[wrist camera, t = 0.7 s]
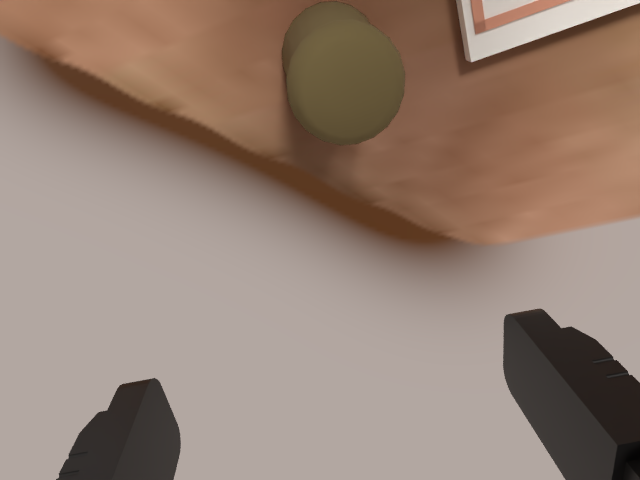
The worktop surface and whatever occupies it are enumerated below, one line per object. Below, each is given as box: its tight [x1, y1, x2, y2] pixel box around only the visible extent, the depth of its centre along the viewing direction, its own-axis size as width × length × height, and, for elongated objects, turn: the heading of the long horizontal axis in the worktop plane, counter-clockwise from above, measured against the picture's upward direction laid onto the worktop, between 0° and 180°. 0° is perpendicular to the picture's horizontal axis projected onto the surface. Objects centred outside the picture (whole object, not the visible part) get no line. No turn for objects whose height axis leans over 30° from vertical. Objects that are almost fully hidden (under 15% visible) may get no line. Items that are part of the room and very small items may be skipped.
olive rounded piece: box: [282, 1, 405, 145], centre depth 23 cm, size 6×6×11 cm
